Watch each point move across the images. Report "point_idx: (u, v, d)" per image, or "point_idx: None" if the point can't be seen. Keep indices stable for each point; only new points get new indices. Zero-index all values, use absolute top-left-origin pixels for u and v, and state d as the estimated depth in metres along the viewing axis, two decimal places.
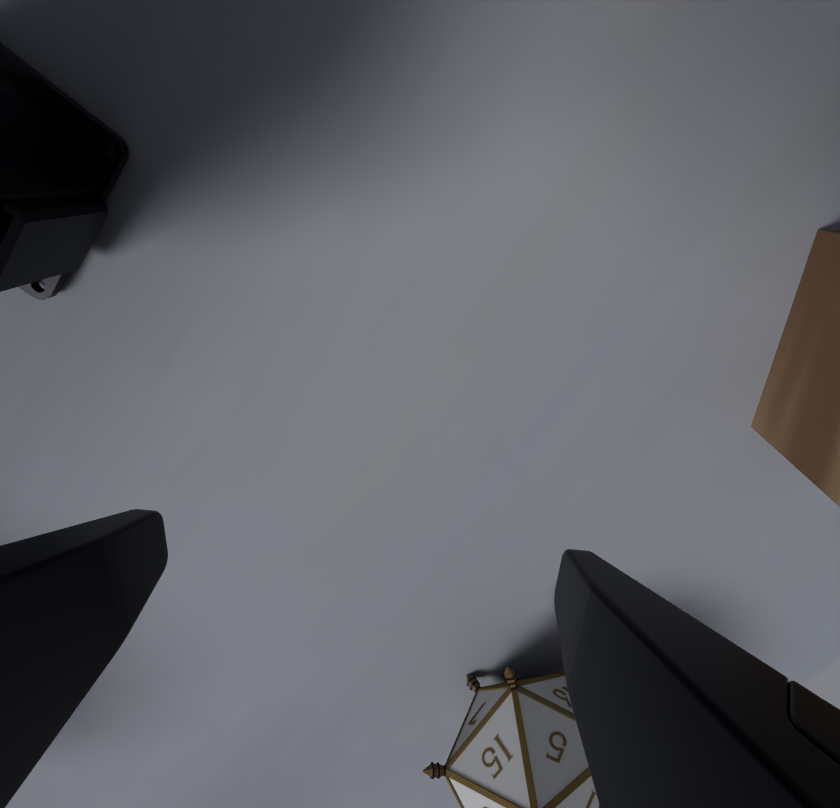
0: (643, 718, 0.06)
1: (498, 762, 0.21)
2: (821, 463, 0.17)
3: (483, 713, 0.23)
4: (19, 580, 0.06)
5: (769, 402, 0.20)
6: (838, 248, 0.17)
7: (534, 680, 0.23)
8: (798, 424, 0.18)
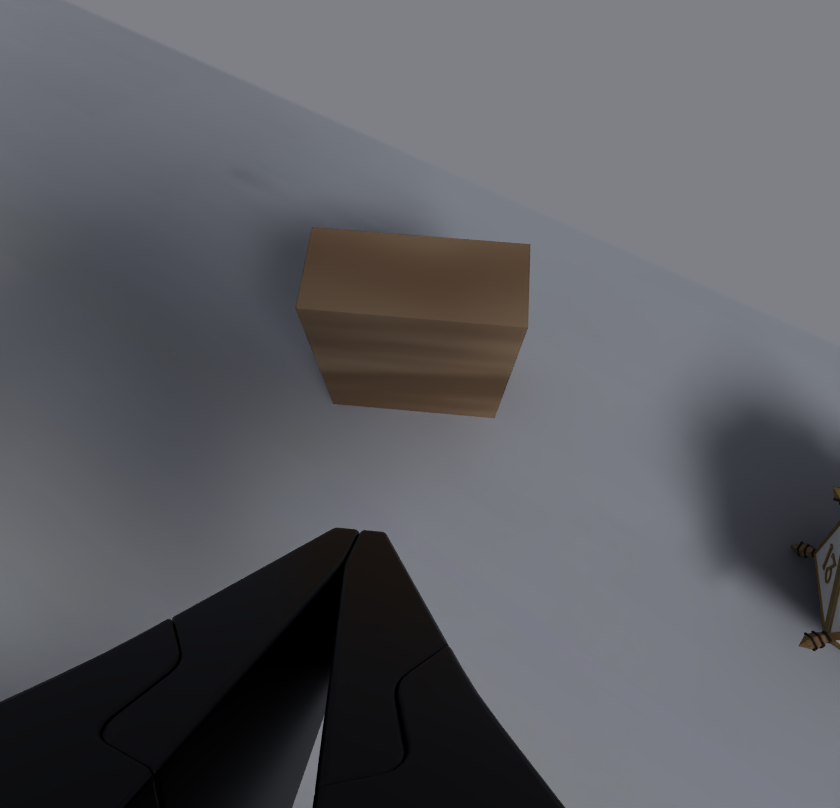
0: None
1: None
2: (489, 379, 0.20)
3: None
4: (306, 608, 0.06)
5: (467, 410, 0.24)
6: (338, 393, 0.23)
7: (820, 606, 0.19)
8: (470, 395, 0.22)
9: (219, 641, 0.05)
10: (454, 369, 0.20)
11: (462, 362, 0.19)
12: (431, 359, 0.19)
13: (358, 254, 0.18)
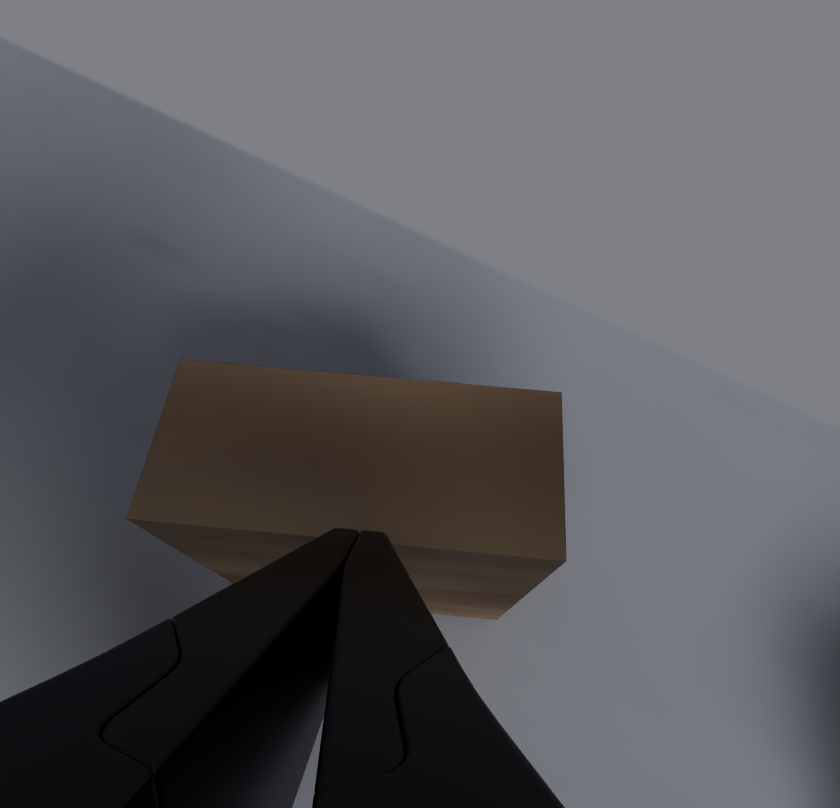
0: None
1: None
2: (489, 596, 0.12)
3: None
4: (306, 608, 0.06)
5: (454, 612, 0.15)
6: None
7: None
8: (459, 603, 0.14)
9: (219, 641, 0.05)
10: (430, 585, 0.12)
11: (443, 580, 0.11)
12: None
13: (256, 410, 0.10)
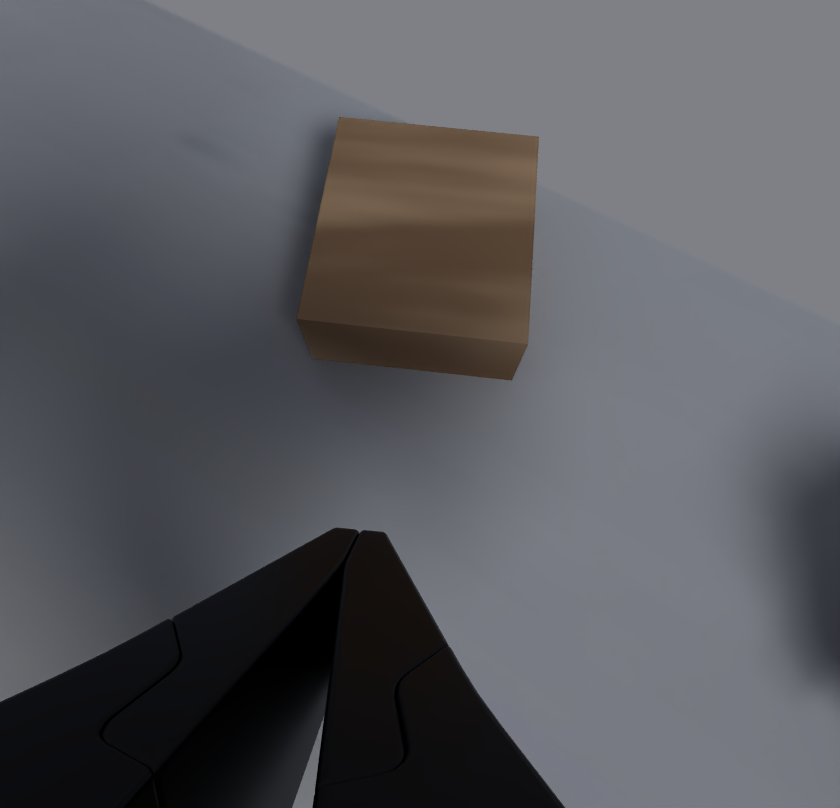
0: None
1: None
2: (512, 231, 0.18)
3: None
4: (308, 607, 0.06)
5: (488, 321, 0.17)
6: (316, 283, 0.17)
7: None
8: (492, 271, 0.17)
9: (219, 641, 0.05)
10: (473, 210, 0.18)
11: (482, 195, 0.18)
12: (449, 191, 0.18)
13: None
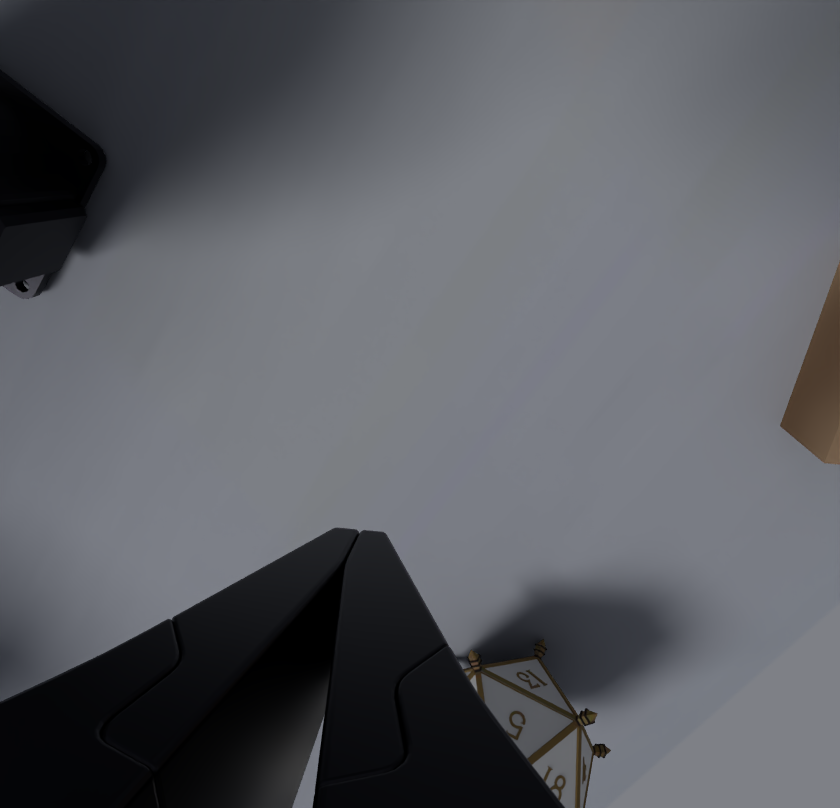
0: None
1: None
2: None
3: None
4: (307, 608, 0.06)
5: None
6: None
7: (499, 663, 0.24)
8: None
9: (219, 641, 0.05)
10: None
11: None
12: None
13: None
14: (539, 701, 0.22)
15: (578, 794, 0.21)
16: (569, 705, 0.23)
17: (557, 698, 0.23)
